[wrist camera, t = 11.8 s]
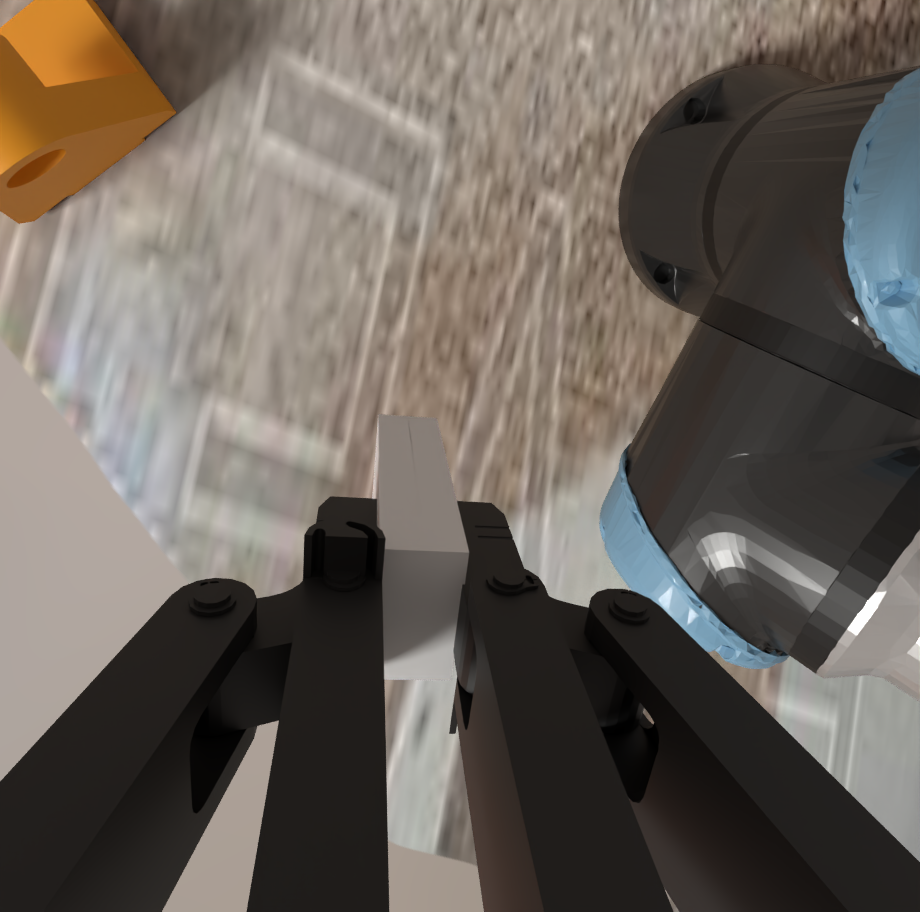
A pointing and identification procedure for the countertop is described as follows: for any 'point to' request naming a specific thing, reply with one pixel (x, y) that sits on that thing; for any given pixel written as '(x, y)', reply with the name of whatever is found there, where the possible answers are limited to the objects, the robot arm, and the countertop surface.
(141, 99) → the bracket
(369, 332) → the countertop surface
